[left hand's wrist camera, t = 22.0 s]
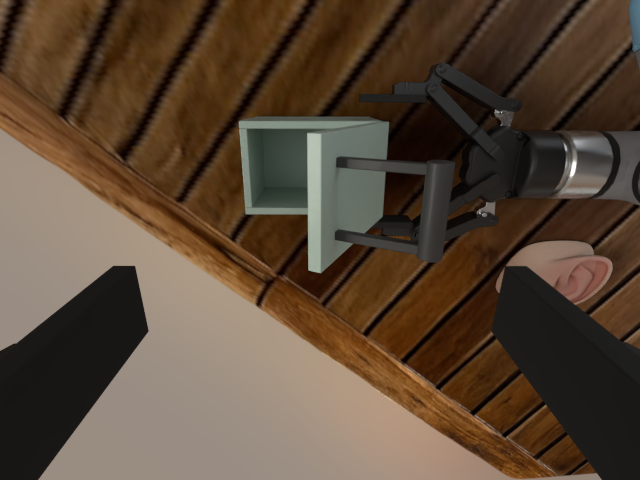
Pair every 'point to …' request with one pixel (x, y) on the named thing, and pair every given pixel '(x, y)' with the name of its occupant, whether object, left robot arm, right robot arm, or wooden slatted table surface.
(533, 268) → the anatomical model
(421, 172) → the lid
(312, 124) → the chest
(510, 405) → the wooden slatted table surface
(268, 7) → the wooden slatted table surface
